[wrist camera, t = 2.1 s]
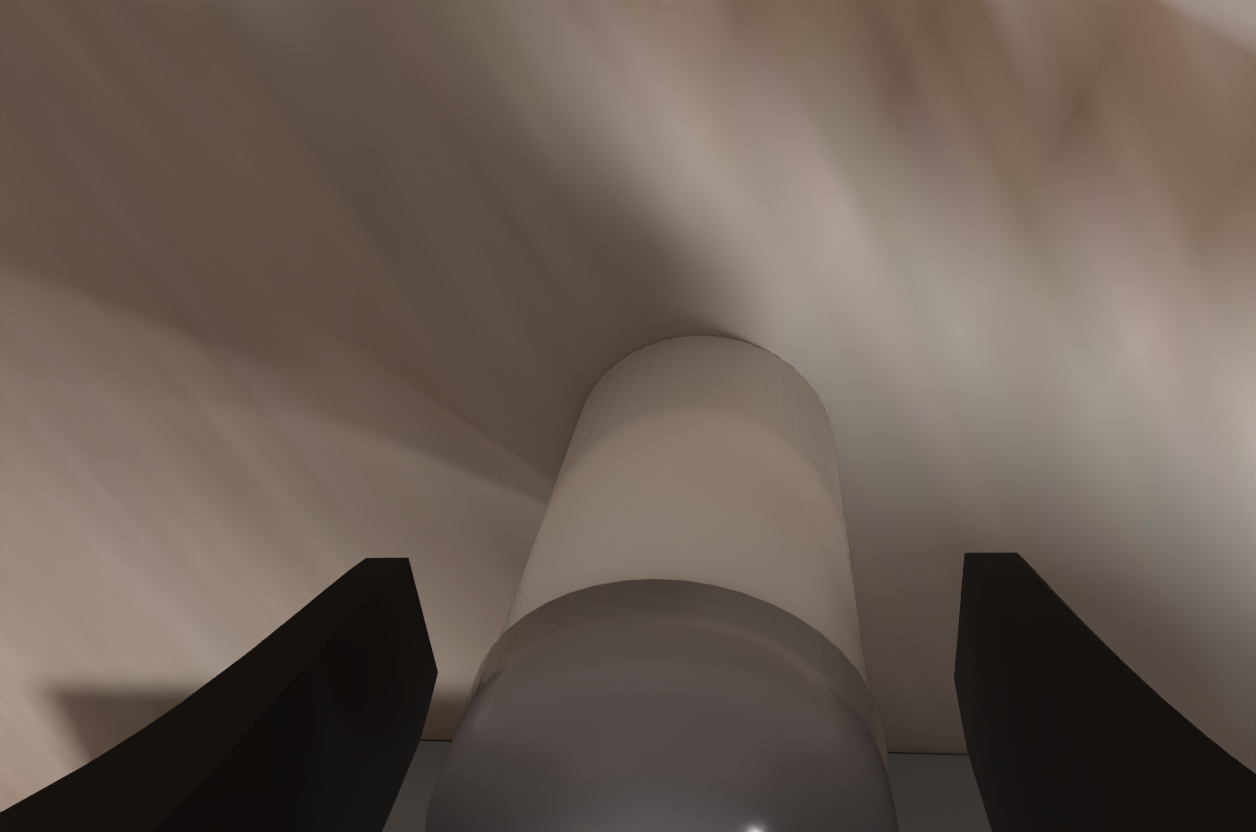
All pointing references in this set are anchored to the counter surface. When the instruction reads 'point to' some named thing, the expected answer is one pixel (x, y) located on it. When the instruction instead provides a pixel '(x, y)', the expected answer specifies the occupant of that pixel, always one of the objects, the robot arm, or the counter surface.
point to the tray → (922, 783)
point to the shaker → (680, 623)
